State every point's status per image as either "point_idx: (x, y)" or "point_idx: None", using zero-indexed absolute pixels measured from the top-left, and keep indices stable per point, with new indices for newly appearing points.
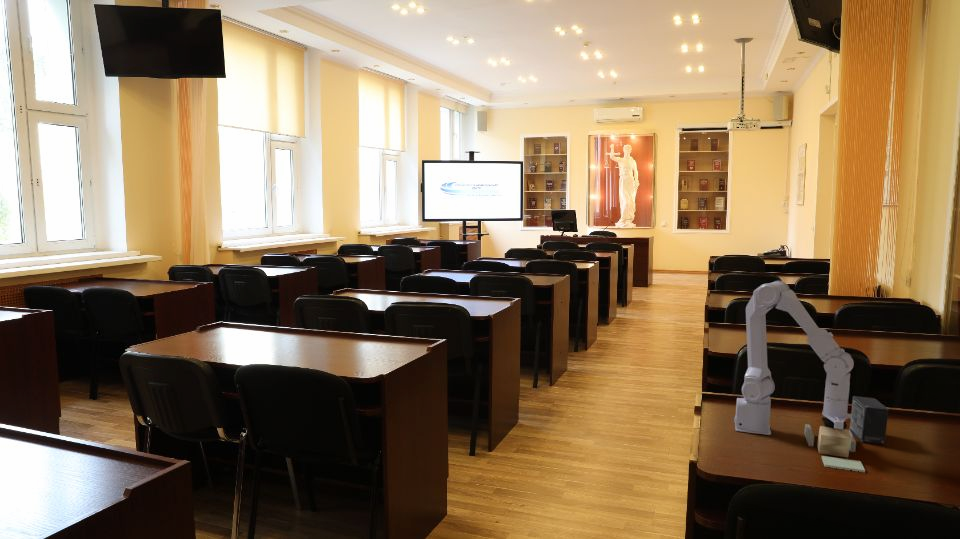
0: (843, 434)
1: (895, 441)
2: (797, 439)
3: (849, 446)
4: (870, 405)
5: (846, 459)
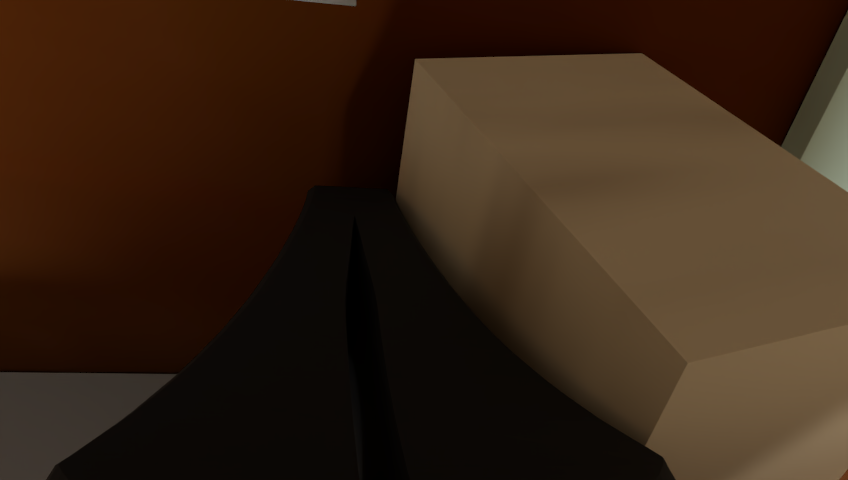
0: (816, 423)
1: None
2: None
3: (807, 172)
4: None
5: (824, 138)
